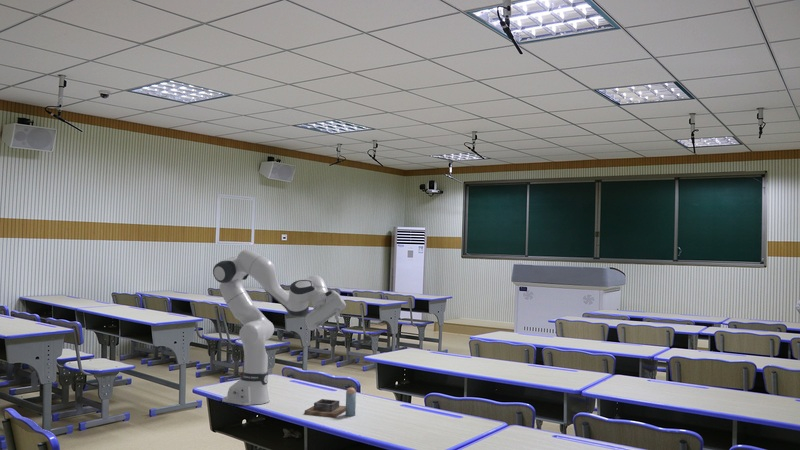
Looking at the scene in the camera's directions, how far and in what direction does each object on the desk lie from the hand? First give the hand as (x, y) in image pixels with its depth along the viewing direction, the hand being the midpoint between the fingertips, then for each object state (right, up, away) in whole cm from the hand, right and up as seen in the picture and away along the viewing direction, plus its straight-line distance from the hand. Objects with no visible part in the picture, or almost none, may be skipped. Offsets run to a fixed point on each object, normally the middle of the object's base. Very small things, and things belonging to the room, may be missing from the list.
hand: (329, 325), depth 273 cm
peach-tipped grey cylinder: (+9, -41, +5) cm, 43 cm away
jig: (-2, -41, +10) cm, 42 cm away
